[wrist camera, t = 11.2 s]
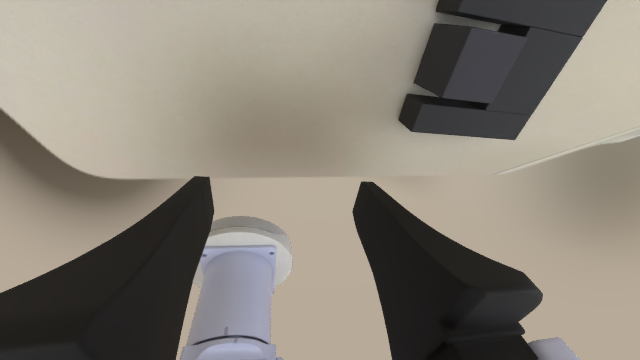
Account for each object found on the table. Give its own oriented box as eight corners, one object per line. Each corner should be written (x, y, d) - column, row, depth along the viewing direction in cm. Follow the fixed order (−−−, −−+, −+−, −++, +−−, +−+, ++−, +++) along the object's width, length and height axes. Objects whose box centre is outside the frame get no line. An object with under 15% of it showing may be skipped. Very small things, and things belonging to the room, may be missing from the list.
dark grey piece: (494, 128, 23) (515, 140, 21) (398, 120, 21) (411, 132, 19) (571, -3, 17) (610, -4, 15) (449, -32, 15) (476, -39, 13)
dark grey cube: (456, 88, 20) (492, 103, 17) (413, 82, 19) (441, 98, 16) (482, 32, 18) (528, 37, 14) (434, 23, 17) (472, 26, 13)
